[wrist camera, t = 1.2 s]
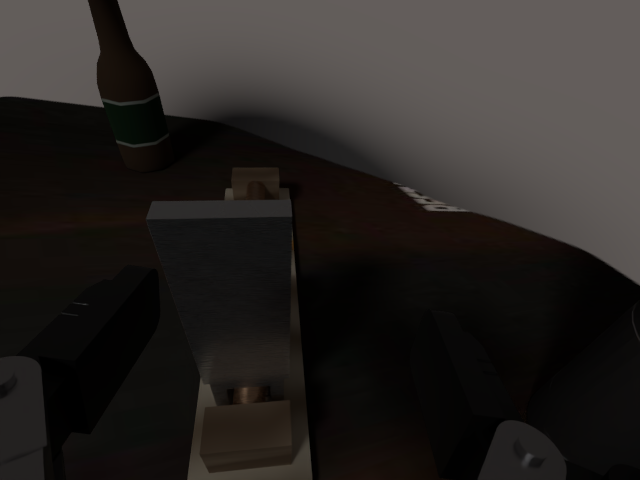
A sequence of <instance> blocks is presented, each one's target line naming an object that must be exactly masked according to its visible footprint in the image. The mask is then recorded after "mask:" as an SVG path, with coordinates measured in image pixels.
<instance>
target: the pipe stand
mask: <svg viewBox="0 0 640 480" xmlns="http://www.w3.org/2000/svg"><path fill="white" fill-rule="evenodd" d="M231 181H232V189H226V192H225V200H224V201H226V200H246V189H247V185H248V183H250V182H251V181H260V182H262V183H263V184H264V186H265V200H290V196H289V188H279V168H233V172H232V180H231ZM187 480H312V469H311V456H310V444H309V431H308V419H307V407H306V394H305V382H304V369H303V357H302V345H301V332H300V320H299V307H298V295H297V283H296V270H295V258H294V245H293V233H292V259H291V314H290V370H289V378H284V401H273V402H261V403H249V404H237V405H225V406H216V403H215V400H214V396H213V393H212V390H211V387H210V384H205V385H204V384H203V381H202V378H201V381H200V389H199V396H198V404H197V411H196V419H195V426H194V434H193V441H192V449H191V456H190V464H189V472H188V479H187Z"/></svg>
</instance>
